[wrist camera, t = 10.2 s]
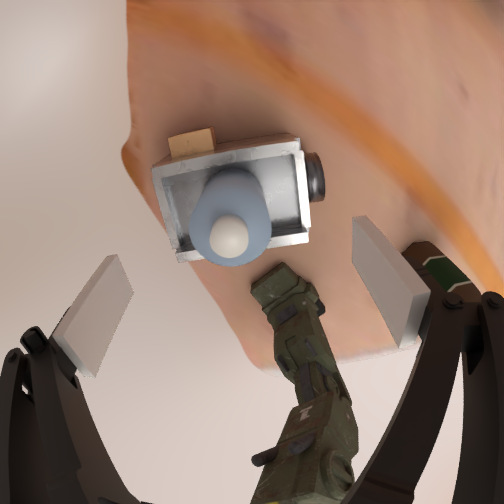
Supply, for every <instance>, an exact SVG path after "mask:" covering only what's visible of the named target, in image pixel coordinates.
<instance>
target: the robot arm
mask: <svg viewBox="0 0 504 504" xmlns="http://www.w3.org/2000/svg"><path fill="white" fill-rule="evenodd" d="M352 263H353V264H354V266H355V268H356V270H357V271H358V273H359V275H360V276H361V278H362V280H363V282H364V284H365V285H366V287H367V289H368V291H369V292H370V294H371V296H372V298H373V300H374V302H375V303H376V305H377V307H378V309H379V311H380V313H381V315H382V316H383V318H384V320H385V322H386V324H387V326H388V328H389V330H390V332H391V334H392V336H393V338H394V340H395V342H396V344H397V346H398V348H403V347H406V346H409V345H413V344H415V342H416V339H417V336H418V334H419V336H420V338H421V339H422V343H421V346H420V348H419V351H418V354H417V356H416V360H415V363H414V366H413V369H412V371H411V374H410V377H409V379H408V382H407V384H406V387H405V390H404V392H403V394H402V396H401V399H400V401H399V404H398V406H397V408H396V410H395V412H394V415H393V416H392V419H391V421H390V423H389V425H388V427H387V429H386V431H385V433H384V435H383V437H382V438H381V440H380V442H379V444H378V446H377V448H376V450H375V451H374V453H373V455H372V456H371V458H370V460H369V461H368V463H367V465H366V467H365V468H364V470H363V471H362V473H361V475H360V476H359V478H358V479H357V481H356V482H355V484H354V485H353V487H352V488H351V489H350V491H349V492H348V494H347V495H346V496H345V497H344V499H343V500H342V501H341V503H340V504H412V503H413V500H414V490H415V487H416V485H417V483H418V481H419V479H420V477H421V474H422V472H423V470H424V468H425V466H426V464H427V461H428V459H429V457H430V454H431V452H432V450H433V447H434V444H435V442H436V439H437V437H438V434H439V431H440V428H441V425H442V422H443V419H444V416H445V413H446V410H447V406H448V403H449V399H450V396H451V392H452V388H453V384H454V380H455V376H456V371H457V367H458V362H459V357H460V352H461V353H462V365H463V385H464V386H463V387H464V388H463V389H464V411H463V432H462V444H461V454H460V462H459V468H458V474H457V480H456V485H455V490H454V495H453V499H452V504H504V298H503V297H502V296H501V295H500V294H498V293H496V292H491V291H489V292H485V293H483V294H482V296H481V299H480V301H479V302H465V301H464V299H463V298H462V297H461V296H459V295H458V294H456V293H453V292H446V291H445V290H444V289H443V288H442V287H441V285H440V284H439V283H438V282H437V281H436V279H435V278H434V277H433V276H432V275H431V274H430V272H429V271H428V270H427V269H425V267H424V265H423V264H422V263H421V262H420V261H419V260H417V259H415V258H414V257H412V256H408V257H403V256H402V255H401V254H400V253H399V251H398V250H397V249H396V248H395V247H394V246H393V245H392V243H391V242H390V241H389V240H388V239H387V238H386V237H385V236H384V235H383V233H382V232H381V231H380V230H379V229H378V228H377V227H376V226H375V225H374V224H373V223H372V222H371V221H370V220H369V218H368V217H367V216H358V217H353V234H352ZM133 293H134V291H133V289H132V287H131V285H130V283H129V280H128V278H127V276H126V274H125V271H124V269H123V267H122V264H121V262H120V260H119V257H118V255H117V254H116V255H111V256H107V257H106V258H105V259H104V261H103V262H102V263H101V265H100V266H99V267H98V269H97V270H96V271H95V273H94V274H93V275H92V277H91V278H90V280H89V281H88V282H87V284H86V285H85V286H84V288H83V289H82V291H81V292H80V293H79V295H78V296H77V298H76V299H75V301H74V302H73V304H72V305H71V306H70V307H69V308H68V309H67V311H66V312H65V314H64V315H63V318H61V320H60V321H59V323H58V324H57V326H56V328H55V329H54V331H53V332H52V334H51V336H50V337H49V339H47V338H46V336H45V335H44V333H43V332H42V331H41V329H40V328H39V327H38V326H34V327H31V328H29V329H28V330H27V331H26V332H25V333H24V334H23V336H22V337H21V339H20V343H21V344H22V345H23V346H24V348H25V349H26V350H27V352H28V353H29V354H25V355H24V353H23V352H22V351H21V350H20V348H14V349H12V350H10V351H9V352H8V354H7V355H6V357H5V360H4V364H3V368H2V372H1V376H0V504H152V503H147V502H142V501H141V503H140V502H139V501H138V500H137V499H136V498H135V497H134V496H133V495H132V494H131V493H130V492H129V491H128V490H127V488H126V487H125V485H124V483H123V482H122V480H121V478H120V476H119V474H118V473H117V471H116V469H115V467H114V465H113V463H112V461H111V459H110V457H109V455H108V453H107V451H106V449H105V447H104V445H103V442H102V440H101V438H100V436H99V433H98V431H97V429H96V426H95V424H94V421H93V419H92V416H91V414H90V411H89V408H88V406H87V403H86V400H85V398H84V394H83V391H82V389H81V385H80V382H79V379H78V377H77V376H76V375H75V372H76V370H77V369H78V370H79V372H80V373H81V374H82V375H83V376H84V377H92V378H95V377H96V375H97V372H98V370H99V367H100V365H101V363H102V360H103V358H104V356H105V353H106V351H107V348H108V346H109V344H110V342H111V340H112V337H113V335H114V333H115V331H116V329H117V327H118V324H119V322H120V320H121V318H122V316H123V314H124V312H125V310H126V308H127V306H128V303H129V301H130V299H131V297H132V295H133ZM22 385H23V386H24V387H25V388H26V389H27V390H28V394H25V392H24V391H23V390H22Z"/></svg>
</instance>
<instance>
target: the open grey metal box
mask: <svg viewBox="0 0 504 504" xmlns="http://www.w3.org/2000/svg"><path fill="white" fill-rule="evenodd" d="M168 143H169V147H170V152H171V154H170V155H168V156H166V157H165V158H163V159H162V160H160V161H159V162H157V163H155V164H154V165H153V168H151V171H152V175H153V178H152V181H153V184H154V188H155V192H156V195H157V199H158V202H159V206H160V209H161V213H162V216H163V220H164V223H165V226H166V230H167V233H168V236H169V239H170V242H171V245H172V249H176V250H177V251H176V257H177V260H178V262H179V263H180V262H187V261H193V260H199V259H205V258H204V257H203V256H201V255H200V254H199V253H198V251H197V250H196V249H195V247H194V246H193V244H192V242H191V239H190V235H189V222H190V218H191V215H192V212H193V210H194V208H195V206H196V204H197V202H198V200H199V198H200V196H201V193H202V191H203V189H204V187H205V185H206V184H207V182H208V181H209V179H210V178H211V177H212V176H214V175H215V174H216V173H218V172H220V171H223V170H226V169H240V170H244V171H246V172H248V173H250V174H252V175H253V176H254V177H255V178H256V179H257V180H258V181H259V183H260V184H261V186H262V189H263V192H264V196H265V200H266V204H267V208H268V212H269V217H270V221H271V228H272V231H271V238H270V241H269V244H268V245H267V247H266V249H269V248H275V247H281V246H288V245H294V244H300V243H307V242H309V241H308V232H309V227H311V223H310V211H309V203H312V202H319V201H323V200H324V197H325V179H324V172H323V168H322V164H321V161H320V158H319V156H318V155H317V153H315V152H314V153H305V154H304V152H303V150H301V146H300V138H298V137H296V136H294V135H292V134H290V133H283V134H276V135H268V136H261V137H255V138H248V139H242V140H236V141H231V142H225V143H220V144H217V143H216V138H215V133H214V128H213V127H210V128H205V129H200V130H196V131H191V132H187V133H183V134H179V135H175V136H172V137H170V138H168Z"/></svg>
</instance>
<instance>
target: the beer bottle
mask: <svg viewBox="0 0 504 504" xmlns="http://www.w3.org/2000/svg"><path fill="white" fill-rule="evenodd" d="M402 256H403V257H408V256H412V257H414V258H415V259H417V260H419V261H420V262H421V263H422V264H423V265H424V267H425V269H427V270H428V271H429V272H430V274H431V275H432V276H433V277H434V278H435V279H436V281H437V282H438V283H439V284H440V285H441V287H442V288H443V289H444V290H445V291H446V292H453V293H456V294H458V295H459V296H461V297H462V298H463V299H464V301H465V302H479V301H480V299H481V296H482V295H481V293H480V291H479V290H478V289H477V287H476V286H475V285H474V284H473V282H472V281H471V280H470V279H469V278H468V277H467V276H466V275H465V274H464V273H463V272H462V271H461V270H460V269H459V268H458V267H457V266H456V265H455V264H454V263H453V262H452V261H451V260H450V259H449V258H447V257H446V256H445V255H444V254H443V253H442V252H441V251H440V250H439V249H438V248H437V247H435V246H434V245H433V244H432V243H430V242H420V243H413V244H412V245H411V246H410V247H409V248H408V249H407V250H406V251H405V252H404V253H403V254H402Z"/></svg>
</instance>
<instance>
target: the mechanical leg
mask: <svg viewBox="0 0 504 504" xmlns="http://www.w3.org/2000/svg"><path fill="white" fill-rule="evenodd" d="M250 293H251V294H252V295H253V296H254V298H255V299H256V300H257V301H258V302H259V303H260V304H261V306H262V307H263V308H262V311H263V312H264V313H265V314H266V315H267V320H268V322H269V323H270V324H271V325H272V327H273V329H274V358H275V361H276V363H277V364H278V366H279V368H280V369H281V371H282V373H283V375H284V376H285V377H286V378H287V379H288V380H290V381H291V382H292V383H293V384H295V392H296V396H297V399H298V403H299V406H296V407H294V408H293V409H292V410H291V412H290V414H289V416H288V419H287V421H286V424H285V426H284V428H283V431H282V433H281V436H280V438H279V440H278V443H277V445H276V446H275V447H273V448H271V449H268V450H266V451H263V452H261V453H259V454H256V455H254V456H252V459H251V460H252V463H253V464H254V465H255V466H257V467H260V466H263V465H265V466H264V468H263V471H262V474H261V477H260V480H259V482H258V485H257V487H256V490H255V493H254V495H253V497H252V500H251V503H250V504H340V503H341V501H342V500H343V499H344V497H345V496H346V495H347V494H348V492H349V491H350V489H351V488H352V487H353V485H354V484H355V481H354V473H353V469H352V466H351V459H352V458H353V457H354V456H355V455H356V454H357V453H358V427H357V424H356V420H355V417H354V414H353V411H352V408H351V406H352V401H351V398H350V395H349V393H348V390H347V388H346V386H345V383H344V381H343V379H342V377H341V375H340V373H339V370H338V368H337V365H336V361H335V359H334V356H333V353H332V351H331V348H330V346H329V343H328V340H327V338H326V335H325V333H324V330H323V327H322V325H321V322H320V320H319V316H321V315H322V314H324V313H325V306H324V305H323V303H322V302H321V301H320V299H319V295H318V293H317V291H316V289H315V287H314V286H313V285H312V284H311V283H307V284H306V283H305V281H304V280H303V279H302V278H301V277H300V276H299V277H298V276H297V275H296V274H295V273H294V272H293V271H292V270H291V269H290V268H289V267H288V266H287V265H286V264H285V263H283V262H282V263H281V264H279V266H277V267H276V268H274V269H273V270H272V271H270V272H269V273H268V274H266V275H265V276H264V277H262V278H261V279H260V280H259V281H257V282H256V283H255V284H253V285H252V286H251V292H250Z"/></svg>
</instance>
